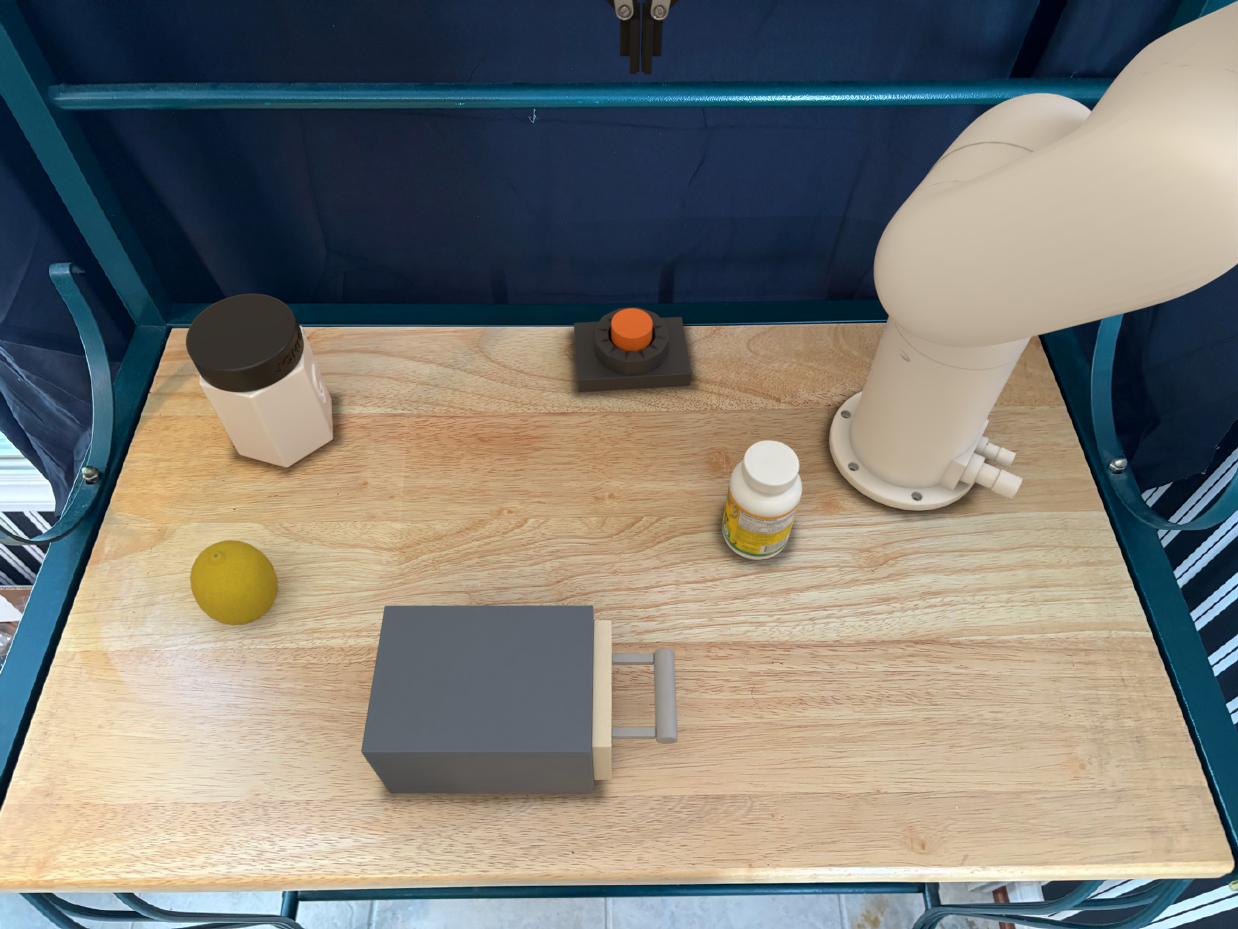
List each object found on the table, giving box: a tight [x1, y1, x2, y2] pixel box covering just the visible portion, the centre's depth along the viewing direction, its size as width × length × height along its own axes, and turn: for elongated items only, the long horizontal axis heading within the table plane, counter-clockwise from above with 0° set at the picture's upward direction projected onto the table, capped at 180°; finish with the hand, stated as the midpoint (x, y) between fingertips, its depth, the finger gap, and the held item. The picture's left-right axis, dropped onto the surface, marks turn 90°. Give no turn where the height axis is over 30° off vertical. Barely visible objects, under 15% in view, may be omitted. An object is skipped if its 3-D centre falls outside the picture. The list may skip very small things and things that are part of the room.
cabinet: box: [360, 605, 595, 794], centre depth 60 cm, size 14×10×9 cm
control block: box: [573, 306, 692, 393], centre depth 82 cm, size 10×7×4 cm
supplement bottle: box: [721, 439, 803, 561], centre depth 69 cm, size 5×5×10 cm
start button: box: [611, 307, 653, 351], centre depth 80 cm, size 4×4×2 cm
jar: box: [185, 293, 334, 469], centre depth 73 cm, size 9×8×12 cm
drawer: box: [592, 619, 679, 781], centre depth 60 cm, size 17×8×7 cm, turn 90°
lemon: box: [189, 539, 279, 626], centre depth 65 cm, size 6×6×8 cm
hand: (640, 63), depth 66 cm, fingers closed
